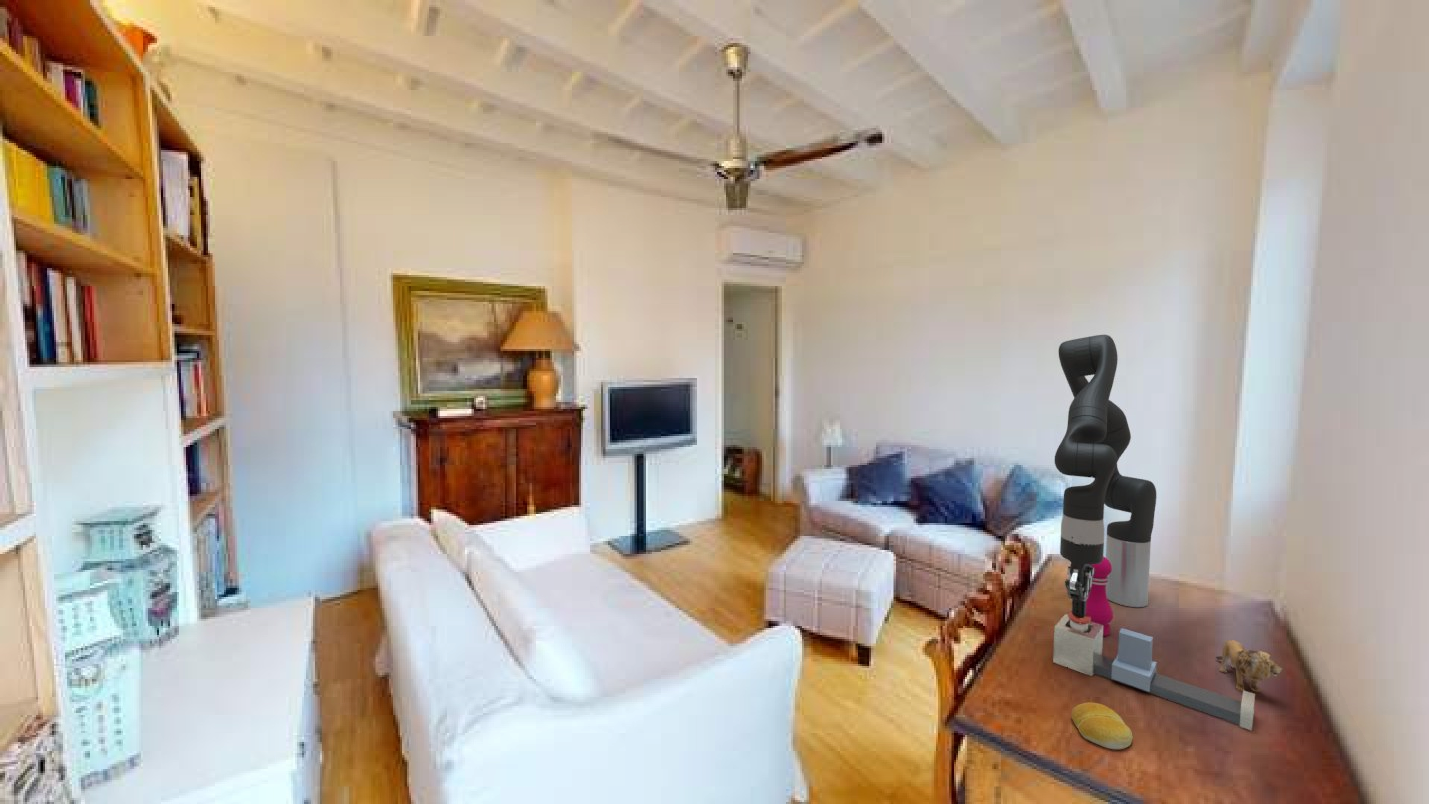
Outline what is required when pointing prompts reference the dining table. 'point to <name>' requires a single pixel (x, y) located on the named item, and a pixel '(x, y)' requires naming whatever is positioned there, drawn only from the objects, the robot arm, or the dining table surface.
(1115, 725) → the bread roll
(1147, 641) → the carriage
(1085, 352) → the robot arm
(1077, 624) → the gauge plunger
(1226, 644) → the lion figurine
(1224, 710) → the rail station
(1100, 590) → the pepper mill
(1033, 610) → the dining table surface
